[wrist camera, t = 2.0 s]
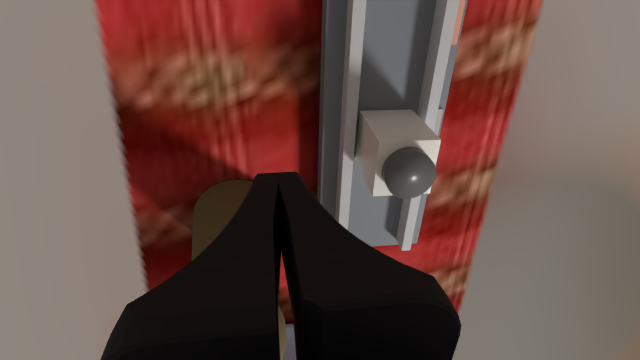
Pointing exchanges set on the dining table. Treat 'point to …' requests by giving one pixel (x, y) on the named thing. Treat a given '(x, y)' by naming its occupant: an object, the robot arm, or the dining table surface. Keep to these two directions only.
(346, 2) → the board
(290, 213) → the robot arm
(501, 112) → the dining table surface
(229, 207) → the brown tall tapered piece
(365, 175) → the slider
